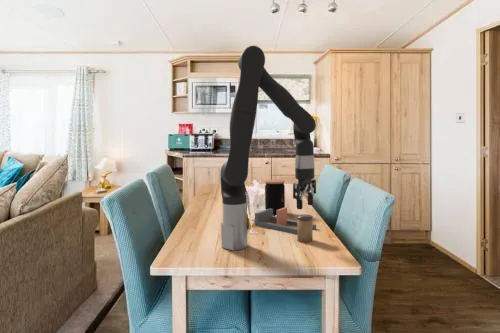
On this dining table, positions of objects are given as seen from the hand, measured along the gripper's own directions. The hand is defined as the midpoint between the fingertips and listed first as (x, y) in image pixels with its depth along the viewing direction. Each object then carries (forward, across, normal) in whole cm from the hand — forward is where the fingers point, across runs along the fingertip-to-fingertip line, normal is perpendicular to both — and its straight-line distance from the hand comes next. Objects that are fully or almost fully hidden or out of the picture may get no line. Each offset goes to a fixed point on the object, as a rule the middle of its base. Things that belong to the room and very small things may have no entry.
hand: (305, 207), depth 128 cm
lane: (+14, -11, -17) cm, 24 cm away
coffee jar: (+14, -30, -36) cm, 49 cm away
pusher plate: (+13, -11, -20) cm, 26 cm away
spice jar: (+14, 0, 0) cm, 14 cm away
